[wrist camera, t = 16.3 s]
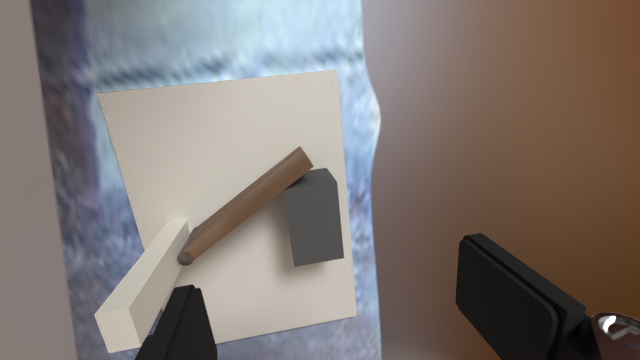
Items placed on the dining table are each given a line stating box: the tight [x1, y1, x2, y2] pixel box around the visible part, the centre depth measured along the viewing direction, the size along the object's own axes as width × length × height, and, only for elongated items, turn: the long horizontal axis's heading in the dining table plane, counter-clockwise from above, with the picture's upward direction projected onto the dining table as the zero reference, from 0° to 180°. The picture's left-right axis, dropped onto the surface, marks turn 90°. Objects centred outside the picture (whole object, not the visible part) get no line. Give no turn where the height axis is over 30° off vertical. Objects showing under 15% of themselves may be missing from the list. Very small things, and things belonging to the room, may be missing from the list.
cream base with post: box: [94, 70, 357, 353], centre depth 27 cm, size 30×22×15 cm
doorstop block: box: [283, 168, 344, 267], centre depth 31 cm, size 8×5×6 cm, turn 6°
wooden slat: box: [177, 146, 314, 266], centre depth 30 cm, size 1×15×6 cm, turn 127°
